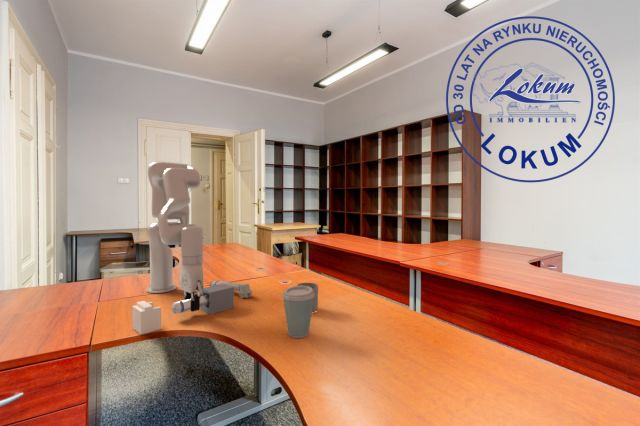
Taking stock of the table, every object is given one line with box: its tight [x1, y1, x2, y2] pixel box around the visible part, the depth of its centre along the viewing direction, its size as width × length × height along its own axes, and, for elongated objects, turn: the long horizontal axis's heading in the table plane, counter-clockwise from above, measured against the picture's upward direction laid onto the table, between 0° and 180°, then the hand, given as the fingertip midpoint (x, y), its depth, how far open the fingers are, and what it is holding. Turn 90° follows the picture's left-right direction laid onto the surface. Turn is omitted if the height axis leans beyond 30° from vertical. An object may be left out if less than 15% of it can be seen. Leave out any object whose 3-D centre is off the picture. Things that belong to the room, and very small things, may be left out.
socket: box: [132, 300, 162, 335], centre depth 105 cm, size 8×6×8 cm
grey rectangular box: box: [200, 284, 235, 315], centre depth 125 cm, size 7×10×8 cm
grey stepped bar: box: [209, 280, 253, 299], centre depth 145 cm, size 5×7×25 cm
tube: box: [171, 294, 209, 315], centre depth 120 cm, size 4×22×4 cm, turn 139°
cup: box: [296, 282, 319, 312], centre depth 125 cm, size 8×8×10 cm
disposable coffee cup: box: [281, 285, 315, 339], centre depth 103 cm, size 11×11×15 cm
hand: (192, 308), depth 117 cm, fingers closed on tube, 4 cm apart
